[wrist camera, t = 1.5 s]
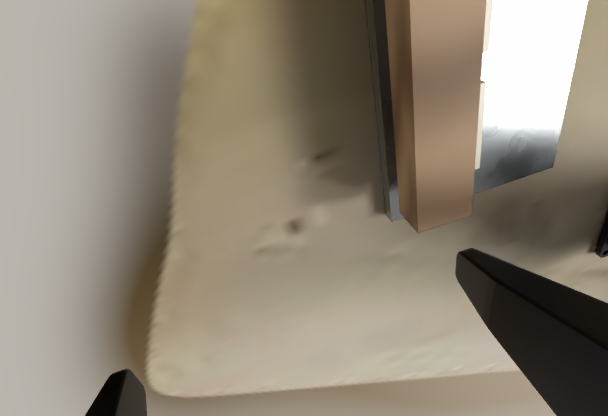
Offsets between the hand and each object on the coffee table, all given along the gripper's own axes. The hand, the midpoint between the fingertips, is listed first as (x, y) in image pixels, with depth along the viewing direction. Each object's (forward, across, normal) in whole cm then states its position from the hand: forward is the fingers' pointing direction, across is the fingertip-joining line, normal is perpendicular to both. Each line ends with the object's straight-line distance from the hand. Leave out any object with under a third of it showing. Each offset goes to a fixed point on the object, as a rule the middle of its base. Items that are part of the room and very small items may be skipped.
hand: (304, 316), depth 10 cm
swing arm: (+9, -8, -3) cm, 13 cm away
